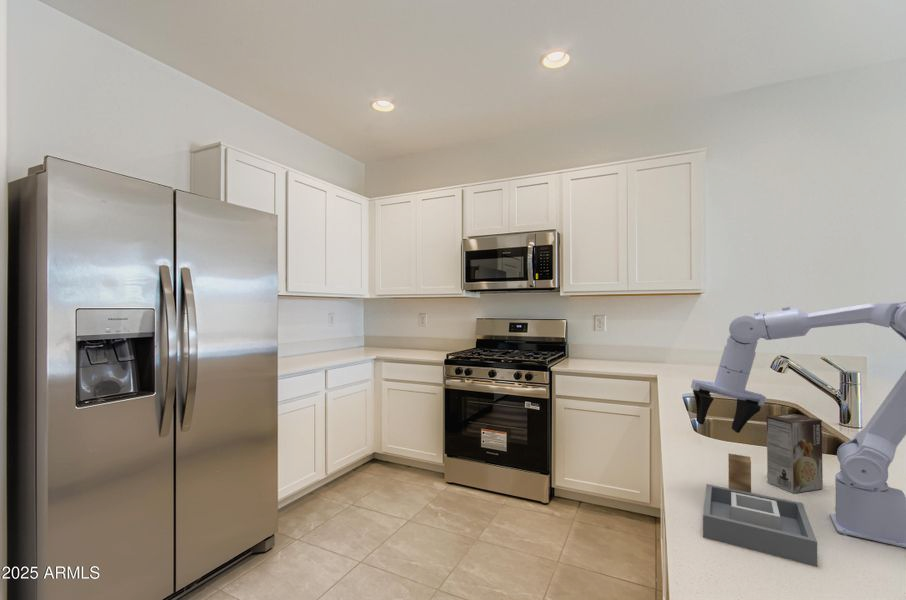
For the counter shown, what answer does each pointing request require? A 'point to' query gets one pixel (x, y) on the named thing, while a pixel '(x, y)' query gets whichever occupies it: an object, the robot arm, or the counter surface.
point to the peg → (739, 472)
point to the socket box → (759, 523)
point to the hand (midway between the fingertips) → (717, 426)
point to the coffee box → (794, 452)
